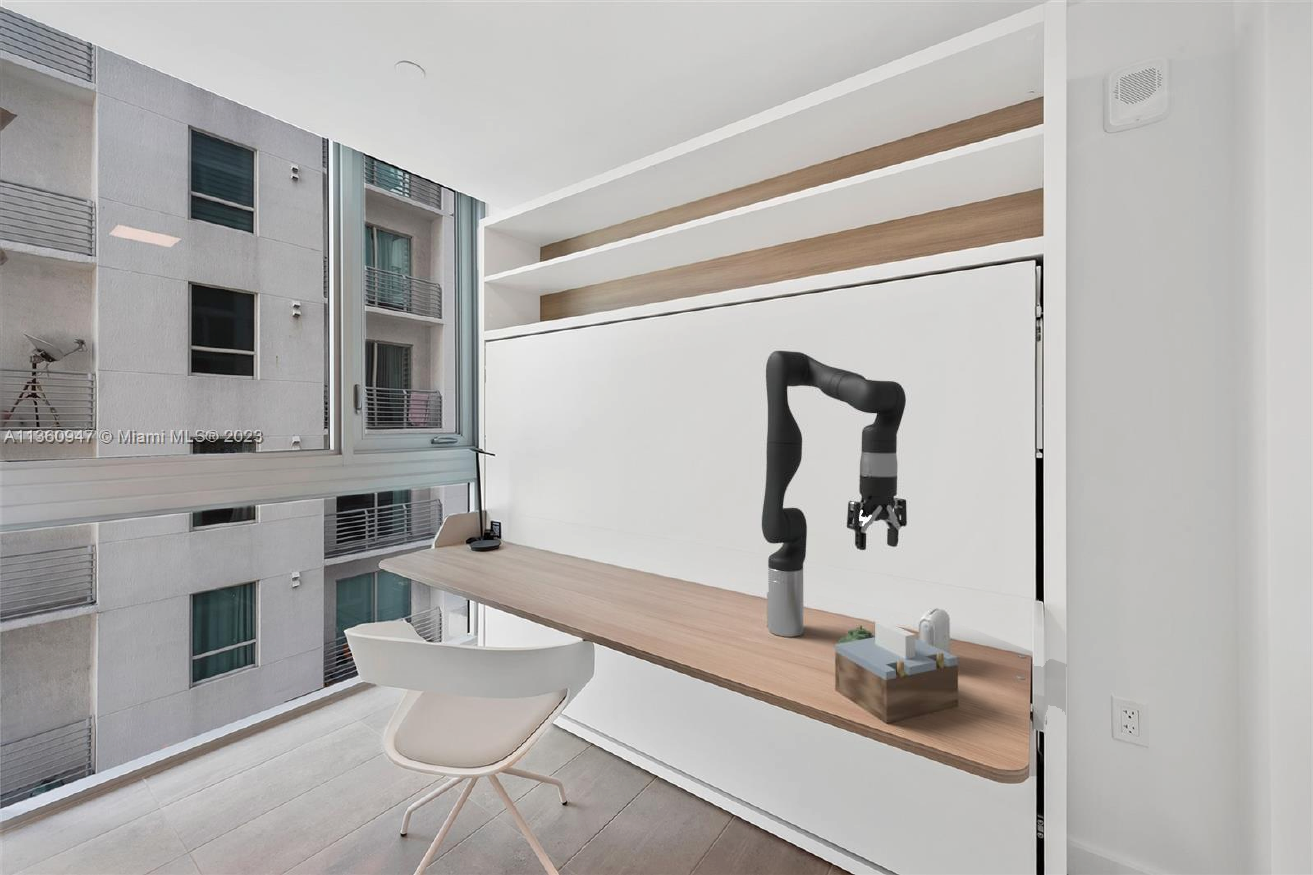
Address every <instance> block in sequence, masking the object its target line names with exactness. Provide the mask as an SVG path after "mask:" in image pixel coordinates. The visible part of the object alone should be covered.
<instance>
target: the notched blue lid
mask: <svg viewBox="0 0 1313 875" xmlns="http://www.w3.org/2000/svg"><path fill="white" fill-rule="evenodd" d="M874 636H875V637H873V638H868V639H862V640H856V641H851V642H845V643H840V644H839V643H835V644H834V652H837V653H839V654H840V655H842V656H844V657H846V658H848V659H849V660H851V661H853V662H855V663H856V664H858V665H860V666H862V667H863V668H865V669H867V670H869V671H871V672H872V673H874V674H876V675H878V676H879V677H881V678H883V679H885V680H890V679H894V678H896V670H897V661H903V662H904V673H906V674H908V675H913V674H917V673H922V672H926V671H931V670H935V669H936V662H937V653H942V654H944V665H946V666H948V667H949V666H954V665H958V666H959V662H958V660H959V658H958V656H957V655H954V654H952V653H951V652H950V653H947V652H945V651H943V650H941V649H938V648H936V647H934V646H931V645H929V644H927V643H925V642H922V641H920V640H919V638H918V639H917V638H916V634H915V633H913V632H911V631H908V630H906V629H904V628H901V627H898V626H896V625H894V624H893V623H889V622H887V621H885V620H882V621H877V622H876V621H875V623H874Z"/></svg>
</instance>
